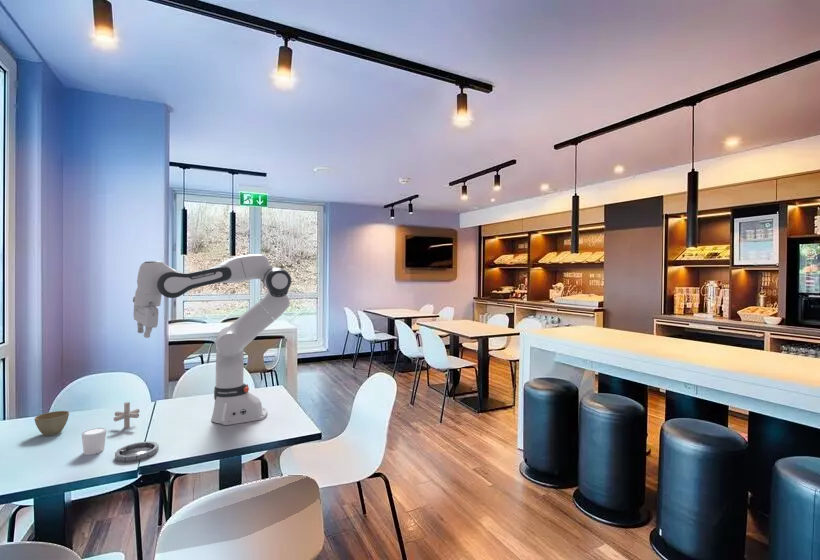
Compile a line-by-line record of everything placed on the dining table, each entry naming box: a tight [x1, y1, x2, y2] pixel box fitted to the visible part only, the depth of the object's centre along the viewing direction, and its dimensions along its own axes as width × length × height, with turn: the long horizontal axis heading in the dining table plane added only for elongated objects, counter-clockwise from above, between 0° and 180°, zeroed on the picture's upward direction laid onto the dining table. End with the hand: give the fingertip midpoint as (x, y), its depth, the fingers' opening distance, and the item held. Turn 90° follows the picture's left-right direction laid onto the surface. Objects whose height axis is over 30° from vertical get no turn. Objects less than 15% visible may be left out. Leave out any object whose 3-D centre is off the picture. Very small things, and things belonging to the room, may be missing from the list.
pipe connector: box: [113, 401, 140, 429], centre depth 160 cm, size 10×10×10 cm
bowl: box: [114, 441, 160, 463], centre depth 137 cm, size 12×12×2 cm
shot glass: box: [81, 427, 107, 456], centre depth 139 cm, size 7×7×7 cm
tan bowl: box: [34, 410, 70, 437], centre depth 153 cm, size 10×10×7 cm
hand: (143, 335), depth 158 cm, fingers open, 8 cm apart
